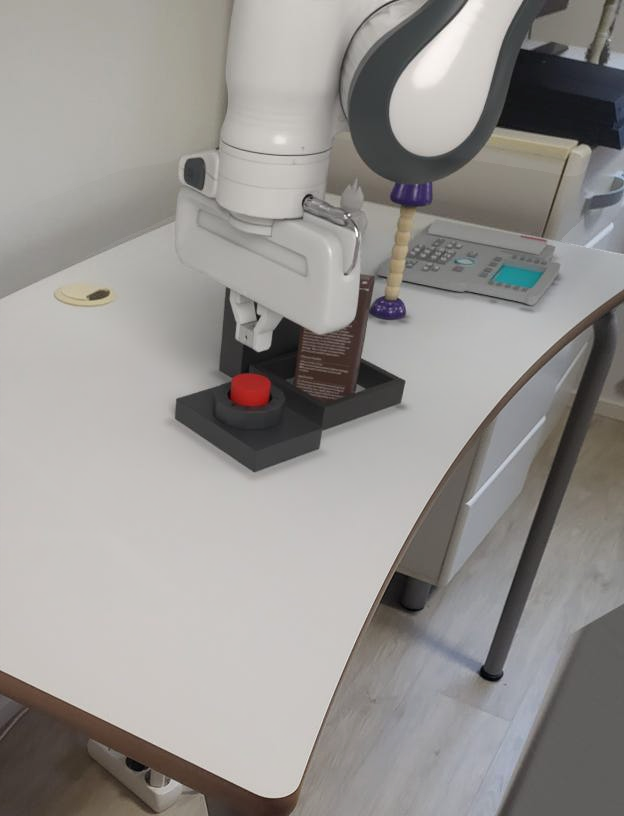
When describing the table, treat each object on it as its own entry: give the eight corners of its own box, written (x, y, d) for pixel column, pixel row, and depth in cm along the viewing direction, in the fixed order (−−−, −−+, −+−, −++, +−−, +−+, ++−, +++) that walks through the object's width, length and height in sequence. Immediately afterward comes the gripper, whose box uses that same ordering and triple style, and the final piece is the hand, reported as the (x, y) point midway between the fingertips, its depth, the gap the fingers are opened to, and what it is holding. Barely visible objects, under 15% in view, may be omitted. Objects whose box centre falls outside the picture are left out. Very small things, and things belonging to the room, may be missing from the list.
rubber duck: (371, 237, 137) (382, 176, 132) (353, 250, 133) (363, 188, 128) (336, 229, 139) (345, 169, 134) (317, 241, 135) (325, 180, 130)
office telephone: (434, 211, 139) (577, 237, 132) (430, 230, 141) (571, 257, 134) (380, 255, 124) (539, 288, 116) (376, 276, 125) (532, 310, 118)
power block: (319, 449, 91) (325, 410, 88) (254, 473, 87) (258, 433, 84) (238, 399, 98) (241, 361, 95) (174, 419, 94) (176, 380, 92)
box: (356, 391, 100) (377, 274, 92) (348, 410, 97) (369, 290, 89) (299, 381, 102) (315, 265, 94) (289, 399, 98) (305, 280, 90)
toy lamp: (365, 304, 118) (392, 156, 107) (403, 304, 118) (433, 157, 108) (374, 319, 115) (402, 168, 104) (412, 320, 115) (445, 169, 104)
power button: (276, 402, 90) (279, 384, 89) (246, 411, 88) (248, 394, 87) (251, 387, 92) (253, 370, 91) (222, 396, 90) (223, 378, 89)
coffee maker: (401, 403, 98) (422, 306, 92) (320, 431, 93) (337, 331, 87) (296, 347, 108) (308, 256, 101) (218, 370, 103) (226, 276, 96)
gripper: (393, 210, 73) (360, 381, 82) (223, 146, 85) (210, 300, 94) (332, 223, 70) (304, 399, 79) (166, 154, 82) (158, 313, 91)
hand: (252, 345), depth 87 cm, fingers closed
